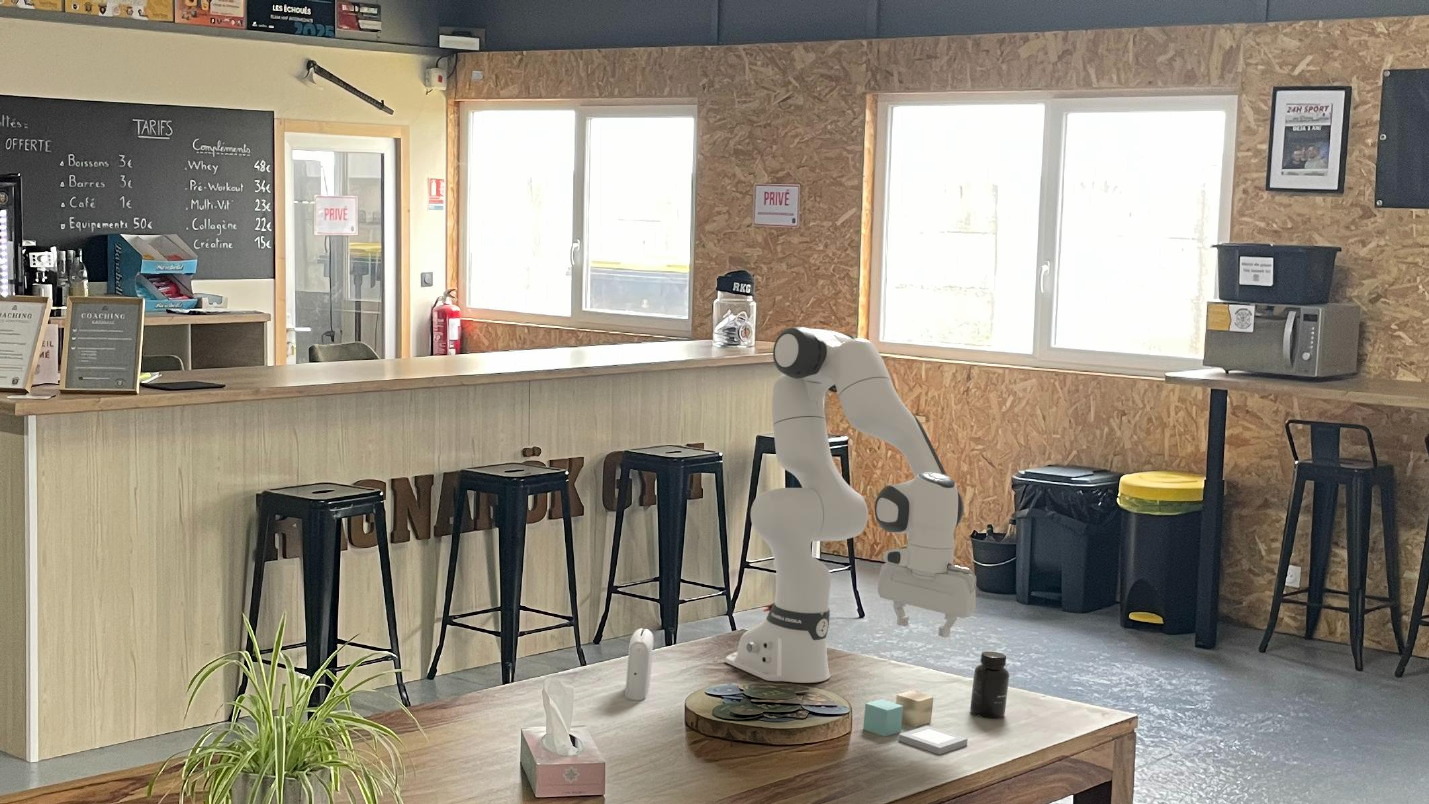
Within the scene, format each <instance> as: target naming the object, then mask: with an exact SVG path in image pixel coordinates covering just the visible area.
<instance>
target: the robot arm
mask: <svg viewBox="0 0 1429 804" xmlns="http://www.w3.org/2000/svg"><path fill="white" fill-rule="evenodd" d="M772 349H773V350H772V357H773V359H772V360H773V362H774V365H775V367H776V369H777V370H778V371H779V372H781V373H782V374H781V375H779V376H778V377H777V378H776V380H775V381H774V383H773V386H772V396H771V397H772V398H771V399H772V400H771V417H772V419H771V420H772V428H773V437H774V439H773V440H774V446H775V455H776V459H777V462H778V465H779V466H781V468H782V469H784V470H786V471H787V472H789V473H790V474H792V475H793V476H795V477H794V478H795V479H797V481H799V484H800V485H801V487H779V488H774V489H770V490H765V491H762V492H760V493H759V494H757V496H756V497H755V498H754V501H753V502H752V505H751V508H750V522H751V524H752V527H753V529H754V531H755V533H756V534H757V535H758V536H759V537H760V538H761V539H762V541H764V542H765V543H766V544H767V545H768V547H769V549H770V551H771V554H772V556H773V559H774V562H775V570H776V576H775V577H776V578H775V579H776V581H775V582H776V583H775V598H774V599H775V600H774V602H773V603H771V604H769V605H764V606H763V608H764V609H763V612H768V613H767V615H766V618H765V619H764V620H763V621H761V622H760V623H758V624H756V625H754V626H753V627H752V628H750V629H748V630H747V631H745V632H744V633H743V634H742V635H741V637H740V640H739V642H738V646H737V651H735V652H733V653H730V654H728V655H726V657H725V661H724V662H725V663H726V664H729V665H730V666H733V667H734V668H735V667H736V668H737V669H740V670H742V671H744V672H747V673H748V674H751V675H754V676H756V677H758V678H760V679H763V680H765V681H768V682H769V681H770V682H790V683H803V684H804V683H808V684H811V683H819V682H825V681H827V680H828V679H830V677H831V674H830V670H829V664H828V662H829V661H828V650H827V635H828V631H829V626H830V617H831V616H830V615H831V610H830V608H829V605H830V604H829V603H830V602H829V601H830V593H831V591H830V590H831V584H832V583H831V581H832V576H831V573H830V571H829V568H828V567H827V566H826V565H825V564H824V563H823V562H822V561H820V560H819V559H817V558H816V557H814V556H813V553H812V547H811V546H812V542H840V541H843V540H849V539H852V538H855V537H858V536H861V534H862V533H863V531H864V530H865V528H866V526H867V524H868V519H869V509H868V504H867V503H866V501H865V499H864V497H863V496H862V495H861V494H860V493H859V492H858V491H856V490H855V489H854V488H852V487H851V486H850V485H849V484H848V483H847V481H845V478H843V476H842V475H841V473H840V471H839V470H838V468H837V466H836V463H835V462H834V458H833V454H832V451H831V447H830V443H829V434H828V428H827V420H826V412H825V406H824V405H825V404H824V400H825V395H826V393H827V392H828V391H830V392H832V393H837V397H838V399H839V403H840V405H841V408H842V411H843V414H844V416H845V418H846V420H847V421H848V424H850V426H851V427H852V428H853V429H855V430H857V431H858V432H860V433H861V434H864V435H866V436H869V437H872V438H876V439H877V440H881V441H883V442H886V443H887V444H889V445H891V446H892V447H894V448H896V449H897V450H899V452H900V453H901V454H902V455H903V456H904V458H905V460H906V461H907V464H908V466H909V468H910V470H911V472H912V474H913V476H914V478H912V479H910V480H907V481H904V482H900V483H895V484H888V485H885V486H884V487H882V489H880V491H879V493H878V494H877V495H876V499H875V503H874V515H875V519H876V522H877V524H878V525H879V527H880V528H882V530H883V531H885V532H887V533H891V534H896V535H897V534H898V535H899V534H905V535H907V536H908V538H907V546H903V547H900V548H895V549H889V550H885V551H884V552H883V556H882V558H883V562H884V563H883V564H882V565H881V566H880V567H881V568H880V570H879V575H878V582H877V593H878V596H879V597H880V598H881V599H885V600H888V601H892V603H893V605H892V607H893V610H894V612H895V615H896V617H897V619H896V624H897V626H899V627H905V628H906V627H908V625H909V619H910V617H909V616H907V615H906V612H905V610H904V609H905V608H904V607H906V605H908V606H912V607H917V608H920V609H925V610H928V611H933V612H936V613H941V614H944V620H946V621H945V623H944V625H942V626H939V627H938V633H937V635H938V636H939V637H942V638H946V639H947V638H949V637H950V635H951V629H952V627H953V626H954V624H955V623H956V621H957V620H958V618H959V619H960V618H961V619H966V618H969V617H972V616H973V615H974V614H975V613H976V607H977V605H976V597H977V596H976V585H977V576H976V574H975V573H974V572H973V571H972V570H971V568H968V567H964V566H963V567H962V566H960V565H956V564H954V556H955V546H956V544H955V538H954V536H955V535H954V533H955V530H956V528H957V527H958V526H959V525H960V522H961V520H962V519H963V515H964V510H965V509H964V501H963V497H962V495H961V493H960V492H959V489H958V486H957V483H956V481H955V480H954V479H953V478H951V477H950V476H948V475H947V473H946V471H945V469H944V467H943V465H942V463H941V461H940V459H939V456H938V454H937V453H936V450H935V448H934V446H933V444H932V443H931V441H930V439H929V436H928V435H927V433H926V431H925V429H924V427H923V425H922V424H921V422H920V420H919V419H918V417H917V416H916V415H915V414H914V413H912V411H910V409H908V407H907V406H906V405H905V404H904V402H903V401H902V399H901V397H900V396H899V393H897V391H896V389H895V387H894V384H893V381H892V378H891V375H890V373H889V371H888V369H887V366H886V364H885V362H884V358H883V357H882V356H881V353H880V352H879V350H878V349H877V347H876V346H875V344H874V343H873V342H872V341H870V340H869V339H866V338H863V337H862V338H860V337H857V338H856V337H854V336H853V335H850V334H847V333H846V334H845V333H842V332H837V331H834V330H830V329H826V328H825V329H824V328H821V329H820V328H808V327H805V326H794V327H789V328H786V329H784V330H783V331H781V332H780V333H779V335H778V336H777V337H776V339H775V342H774V344H773V348H772Z"/></svg>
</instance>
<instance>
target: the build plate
mask: <svg viewBox="0 0 1429 804" xmlns="http://www.w3.org/2000/svg"><path fill="white" fill-rule="evenodd" d="M898 742H901V743H905V744H907V745H910V746H913V747H916V748H919V749H922V750H926V751H928V752H930V753H931V752H932V753H935V754H937V755H942V754H945V753H948V752H951V751H953V750H956V749H959V748H962V747H966V746H968V738H967V737H963V736H962V735H961V736H960V735H958V734H954V733H951V732H947V731H945V730H942V729H939V728H935V727H933V726H930V725H923V726H920V727H918V728H915V729H911V730H907V731H905V732H902V733H899V734H898Z"/></svg>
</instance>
